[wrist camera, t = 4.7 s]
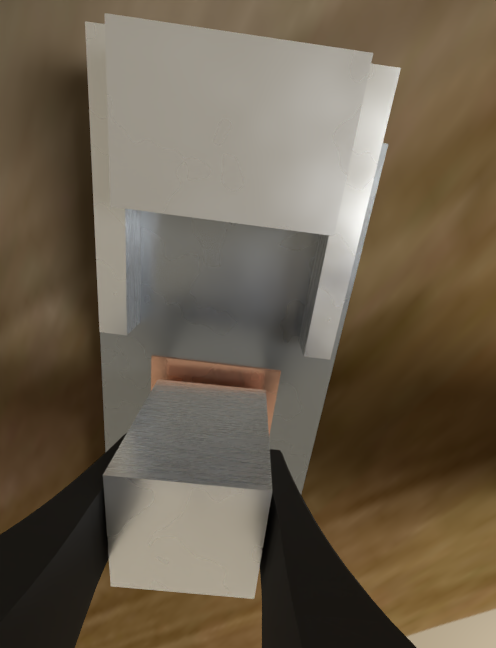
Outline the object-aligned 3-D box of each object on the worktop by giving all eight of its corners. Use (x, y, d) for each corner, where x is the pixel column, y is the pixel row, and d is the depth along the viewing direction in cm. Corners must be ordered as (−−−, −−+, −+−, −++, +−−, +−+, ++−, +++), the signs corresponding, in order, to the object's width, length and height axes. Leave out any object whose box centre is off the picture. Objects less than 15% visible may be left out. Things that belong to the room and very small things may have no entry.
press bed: (382, 105, 11) (425, 71, 9) (291, 497, 18) (298, 550, 15) (108, 65, 11) (58, 17, 8) (119, 479, 18) (94, 529, 15)
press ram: (338, 97, 10) (373, 52, 7) (313, 228, 11) (334, 236, 8) (148, 70, 10) (104, 12, 7) (146, 206, 11) (110, 206, 8)
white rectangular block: (254, 473, 14) (254, 598, 10) (157, 464, 14) (111, 585, 10) (265, 389, 13) (272, 491, 8) (158, 379, 13) (102, 475, 8)
